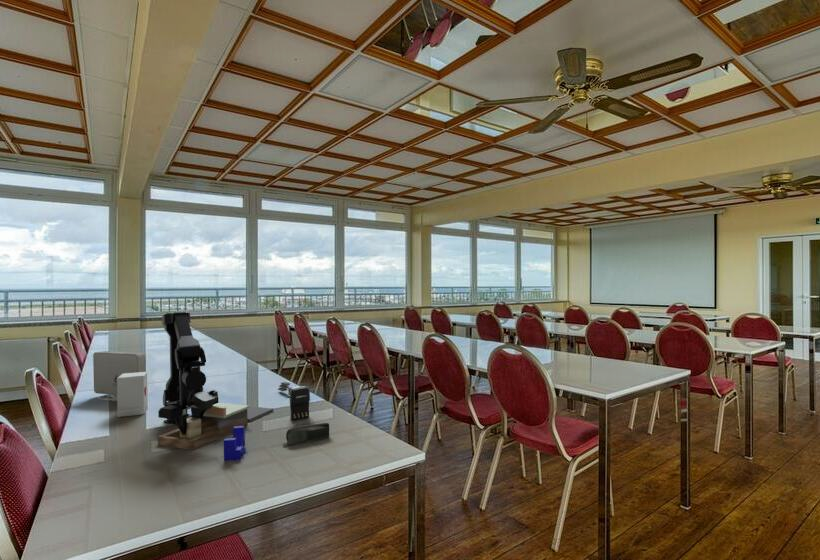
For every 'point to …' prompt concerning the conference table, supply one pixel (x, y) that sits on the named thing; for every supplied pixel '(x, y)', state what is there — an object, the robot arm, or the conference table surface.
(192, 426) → the beech block
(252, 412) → the charcoal mat
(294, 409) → the battery charger
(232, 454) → the cable clip
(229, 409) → the sliding cover
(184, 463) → the conference table surface
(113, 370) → the network device
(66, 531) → the conference table surface
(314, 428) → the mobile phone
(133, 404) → the supplement box
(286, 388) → the extruded letter logo
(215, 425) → the wooden box
